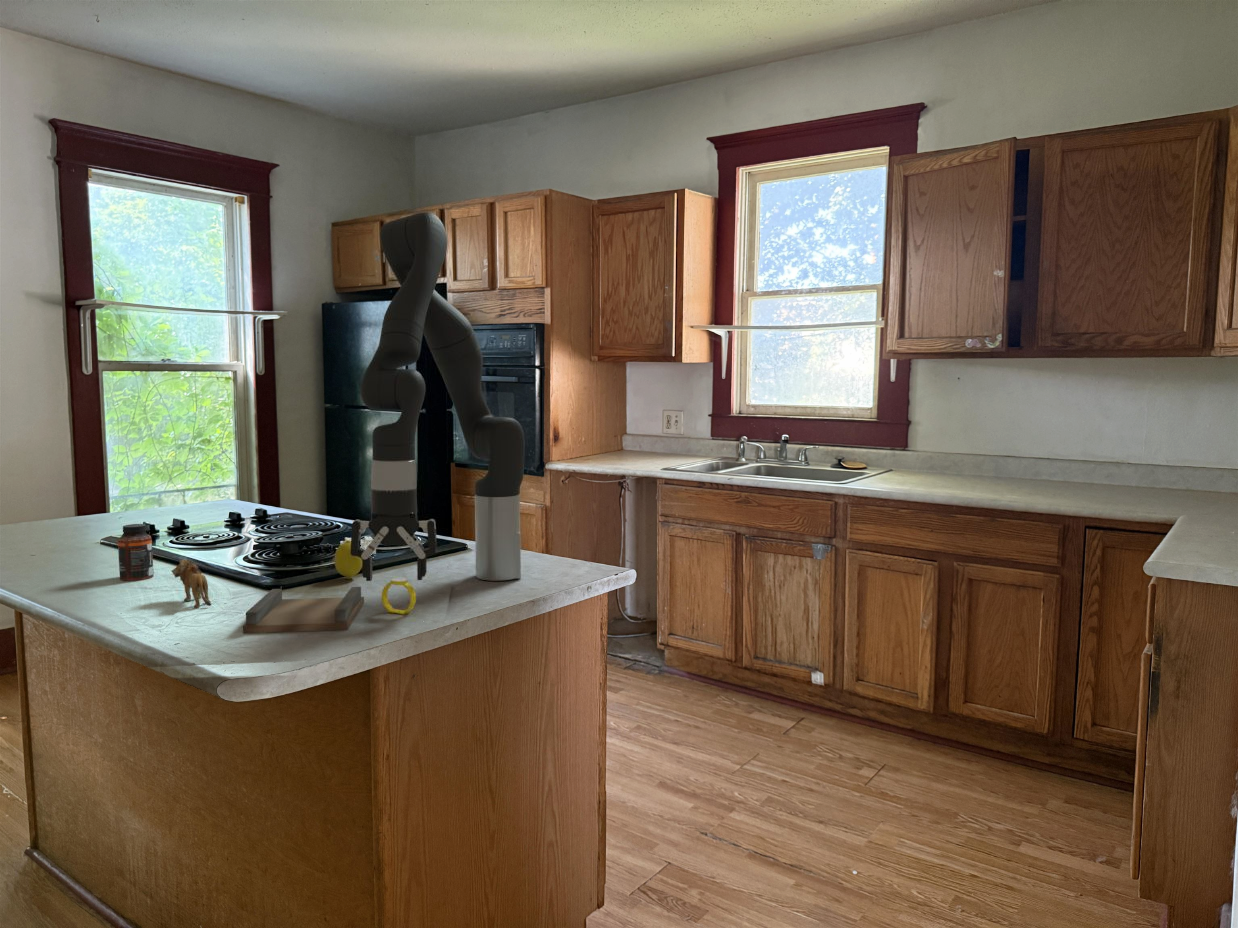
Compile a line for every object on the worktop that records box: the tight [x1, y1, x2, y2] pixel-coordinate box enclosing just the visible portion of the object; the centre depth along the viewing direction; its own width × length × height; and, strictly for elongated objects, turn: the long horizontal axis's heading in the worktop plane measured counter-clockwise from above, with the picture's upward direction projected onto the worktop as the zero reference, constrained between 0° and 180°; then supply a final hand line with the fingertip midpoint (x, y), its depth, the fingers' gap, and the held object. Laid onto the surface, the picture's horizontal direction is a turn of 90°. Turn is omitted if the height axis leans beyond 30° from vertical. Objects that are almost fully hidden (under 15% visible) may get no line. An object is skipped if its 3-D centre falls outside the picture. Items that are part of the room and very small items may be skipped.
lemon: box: [334, 540, 362, 580], centre depth 172 cm, size 6×6×8 cm
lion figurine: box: [171, 559, 212, 609], centre depth 153 cm, size 12×4×7 cm, turn 50°
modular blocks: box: [339, 535, 377, 555], centre depth 193 cm, size 20×7×4 cm, turn 27°
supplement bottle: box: [117, 523, 154, 582], centre depth 169 cm, size 6×6×11 cm
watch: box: [381, 577, 417, 615], centre depth 146 cm, size 6×3×6 cm, turn 74°
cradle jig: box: [242, 586, 365, 634], centre depth 143 cm, size 16×17×3 cm
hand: (394, 579), depth 146 cm, fingers open, 8 cm apart
